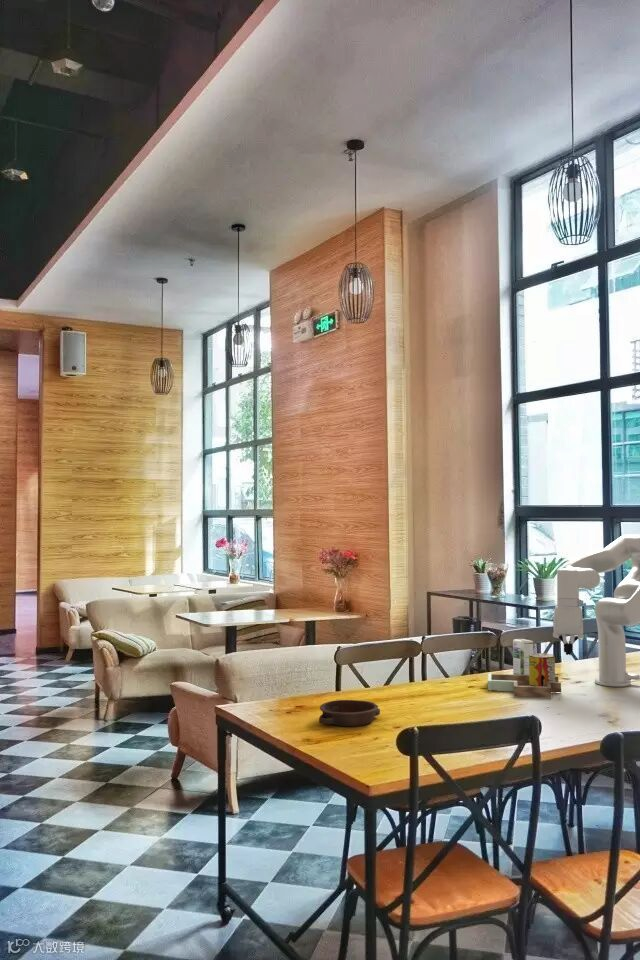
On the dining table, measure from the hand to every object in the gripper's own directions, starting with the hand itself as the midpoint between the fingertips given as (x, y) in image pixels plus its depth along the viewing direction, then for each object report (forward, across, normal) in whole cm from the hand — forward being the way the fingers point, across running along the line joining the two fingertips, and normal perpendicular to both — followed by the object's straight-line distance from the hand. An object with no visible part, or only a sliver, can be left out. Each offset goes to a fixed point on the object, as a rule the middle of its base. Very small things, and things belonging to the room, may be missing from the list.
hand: (568, 654), depth 286 cm
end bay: (+13, +23, -1) cm, 27 cm away
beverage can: (+13, +9, -1) cm, 16 cm away
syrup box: (+13, +15, -21) cm, 29 cm away
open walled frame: (+13, +15, +4) cm, 20 cm away
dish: (+15, +69, +59) cm, 92 cm away
